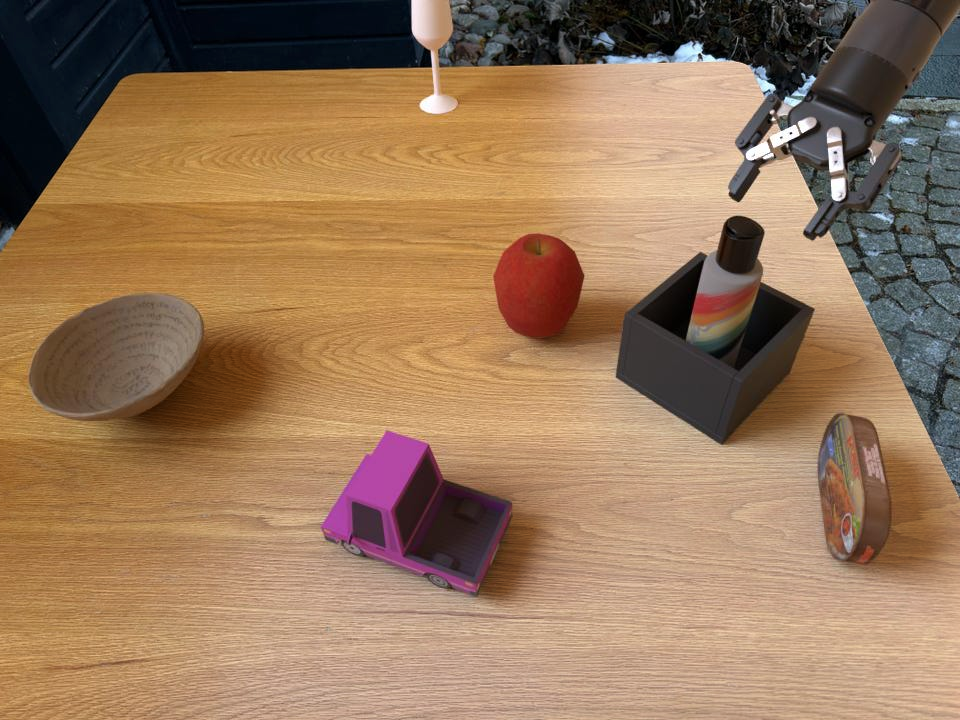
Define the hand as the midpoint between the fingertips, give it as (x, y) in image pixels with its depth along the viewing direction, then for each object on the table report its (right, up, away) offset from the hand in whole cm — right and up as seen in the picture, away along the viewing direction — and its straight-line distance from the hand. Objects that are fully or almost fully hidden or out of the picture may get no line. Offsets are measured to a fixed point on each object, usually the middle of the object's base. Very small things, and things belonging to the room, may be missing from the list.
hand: (769, 217), depth 73 cm
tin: (+6, -29, -1) cm, 29 cm away
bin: (-3, -16, +12) cm, 20 cm away
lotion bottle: (-3, -15, +11) cm, 19 cm away
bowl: (-67, -18, +13) cm, 71 cm away
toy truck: (-34, -31, -1) cm, 46 cm away
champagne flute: (-36, +31, +57) cm, 74 cm away
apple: (-21, -10, +18) cm, 30 cm away
